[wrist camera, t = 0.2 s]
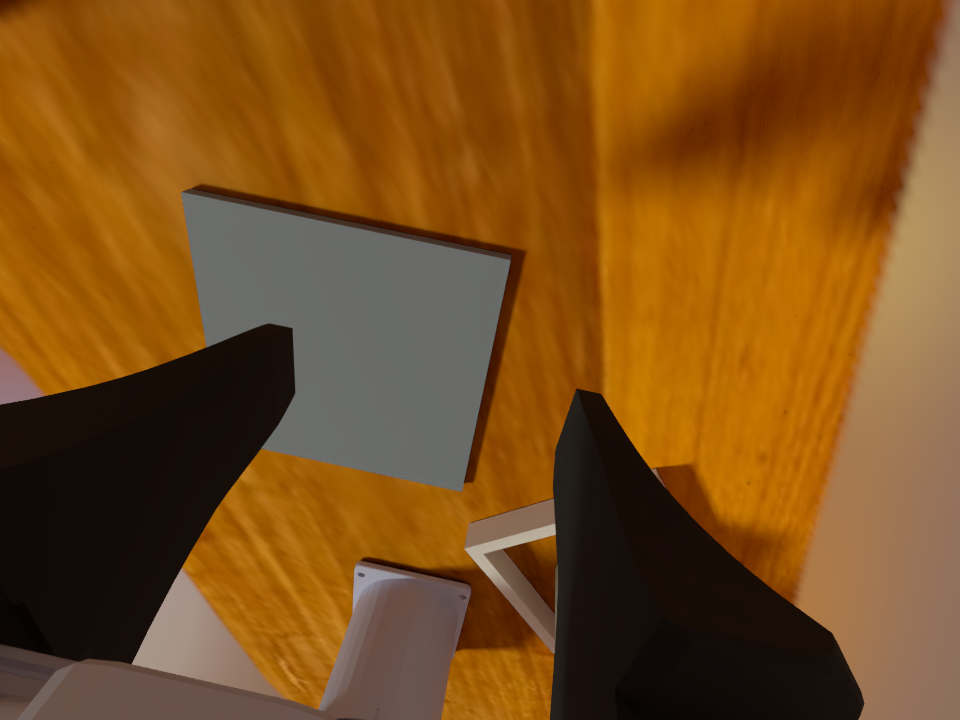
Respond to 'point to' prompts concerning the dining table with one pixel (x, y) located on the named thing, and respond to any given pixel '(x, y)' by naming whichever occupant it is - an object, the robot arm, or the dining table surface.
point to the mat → (356, 330)
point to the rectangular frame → (492, 559)
